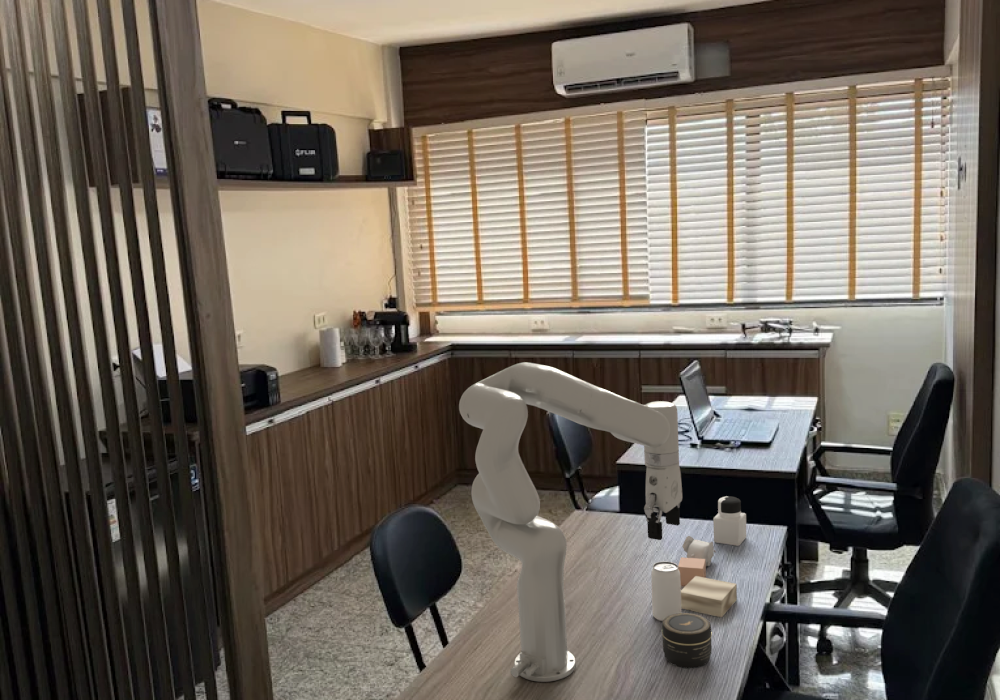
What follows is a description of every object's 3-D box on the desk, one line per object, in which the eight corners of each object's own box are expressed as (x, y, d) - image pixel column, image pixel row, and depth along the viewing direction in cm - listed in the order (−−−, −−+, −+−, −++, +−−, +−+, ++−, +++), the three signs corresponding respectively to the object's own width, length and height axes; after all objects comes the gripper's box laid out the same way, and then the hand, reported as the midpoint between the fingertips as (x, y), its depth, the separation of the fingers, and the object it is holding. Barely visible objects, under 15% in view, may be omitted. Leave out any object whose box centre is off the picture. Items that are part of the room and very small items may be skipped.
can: (647, 613, 195) (645, 563, 194) (672, 607, 197) (671, 558, 195) (661, 625, 189) (659, 574, 187) (686, 619, 191) (685, 569, 189)
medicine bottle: (746, 537, 236) (746, 496, 235) (739, 546, 231) (738, 504, 229) (721, 533, 240) (720, 493, 238) (713, 542, 234) (712, 500, 233)
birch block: (721, 617, 191) (721, 600, 190) (679, 608, 197) (679, 591, 196) (736, 599, 199) (736, 583, 198) (696, 591, 205) (695, 575, 204)
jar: (721, 656, 175) (721, 621, 173) (694, 675, 168) (693, 639, 167) (681, 640, 182) (680, 607, 181) (652, 659, 175) (651, 624, 174)
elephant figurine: (723, 561, 221) (723, 535, 220) (704, 573, 215) (704, 547, 213) (697, 554, 227) (697, 529, 226) (678, 566, 220) (677, 540, 219)
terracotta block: (703, 588, 207) (702, 568, 206) (678, 586, 209) (677, 566, 208) (705, 578, 212) (705, 559, 212) (681, 576, 214) (681, 557, 214)
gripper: (661, 470, 179) (664, 547, 181) (692, 449, 193) (694, 521, 195) (629, 466, 183) (632, 541, 185) (661, 446, 197) (664, 516, 200)
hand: (664, 531), depth 190 cm, fingers open, 9 cm apart
